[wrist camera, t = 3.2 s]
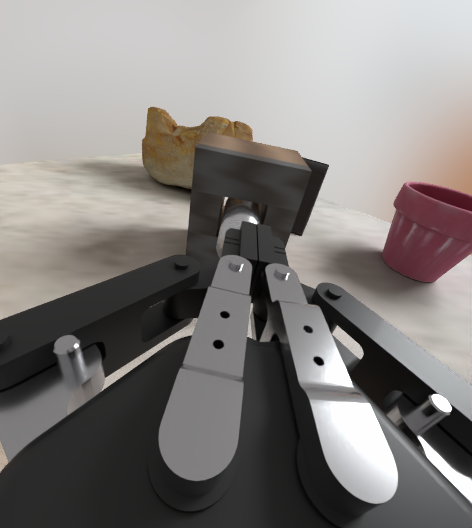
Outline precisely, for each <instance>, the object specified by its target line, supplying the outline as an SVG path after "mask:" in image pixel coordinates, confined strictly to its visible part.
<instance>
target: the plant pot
mask: <svg viewBox="0 0 472 528" xmlns="http://www.w3.org/2000/svg"><path fill="white" fill-rule="evenodd" d="M394 207H395V208H396V213H395V215H394V218H393V221H392V224H391V227H390V230H389V233H388V237H387V240H386V243H385V247H384V250H383V253H382V258H383V260H384V262H385V263H386V264H387V265H388V266H390V267H391V268H392V269H394V270H395V271H397V272H398V273H400V274H402V275H404V276H407V277H409V278H412V279H415V280H418V281H423V282H433V281H436V280H437V279H438V278H440V277H441V276H442V275H443V274H445V273H446V272H447V271H449V270H450V269H451V268H453V267H454V266H455V265H456V264H458V263H459V262H460V261H462V260H463V259H464V258H466V257H467V256H468V255H470V254H471V253H472V195H469V194H466V193H462V192H460V191H456V190H453V189H449V188H446V187H441V186H437V185H433V184H428V183H421V182H406V183H405V184H404V185H403V187H402V188H401V190H400V192H399V194H398V196H397V197H396V199H395V201H394Z"/></svg>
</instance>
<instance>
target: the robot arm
mask: <svg viewBox="0 0 472 528" xmlns="http://www.w3.org/2000/svg"><path fill="white" fill-rule="evenodd" d="M161 301H162V302H161ZM159 302H160V303H159ZM157 303H158V304H157ZM251 303H253V308H252V311H251V315H250V319H251V330H252V339H251V338H249V337H247V332H248V322H249V313H250V304H251ZM155 304H156V305H155ZM153 305H154V306H153ZM151 306H152V307H151ZM149 307H150V308H149ZM193 318H198V320H197V323H196V326H195V329H194V332H193V335H192V336H187V337H183V338H180V339H178V340H175V341H173V342H172V343H170V344H168V345H166V346H165V347H163V348H162V349H161V350H159V351H158V352H156V353H155V354H154V355H152V356H151V357H149V358H148V359H147V360H145V361H144V362H142V363H141V364H139V365H138V366H137V367H135V368H134V369H132V370H131V371H130V372H128V373H127V374H125V375H124V376H123V377H121V378H120V379H118V380H117V381H115V382H114V383H113V384H111V385H110V386H108V387H107V388H106V389H104V390H103V391H101V390H102V388H103V386H104V382H105V378H106V377H107V376H109V375H110V374H112V373H113V372H115V371H117V370H118V369H120V368H121V367H123V366H124V365H126V364H128V363H129V362H131V361H132V360H134V359H135V358H137V357H138V356H140V355H142V354H143V353H145V352H146V351H148V350H149V349H151V348H153V347H154V346H156V345H157V344H159V343H160V342H162V341H164V340H165V339H167V338H168V337H170V336H171V335H173V334H174V333H176V332H178V331H179V330H181V329H182V328H184V327H185V326H187V325H188V324H190V323H191V321H192V320H193ZM337 325H338V326H339V327H340V328H341V329H342V330H344V331H345V332H346V333H347V334H348V335H349V336H351V337H352V338H353V339H354V340H355V341H356V342H357V343H359V344H360V346H361V347H362V349H363V352H364V355H363V357H362V359H361V360H360V359H359V358H357V357H356V356H355V355H354V354H353V353H352V352H351V351H349V350H348V349H347V348H346V347H345V346H344V345H343V344H342V343H341V342H340V341H338V340H337V339H336V338H335V337H334V336H333V335H332V333H333V331H334V329H335V328H336V326H337ZM0 441H1V444H2V446H3V449H4V452H5V454H6V457H7V459H8V462H9V463H8V464H7V465H6V466H5V467H4V469H3V470H2V471H1V472H0V528H472V385H471V384H469V383H468V382H467V381H465V380H464V379H463V378H461V377H460V376H459V375H457V374H456V373H455V372H453V371H452V370H451V369H449V368H448V367H447V366H445V365H444V364H443V363H441V362H440V361H439V360H437V359H436V358H435V357H433V356H432V355H431V354H429V353H428V352H426V351H425V350H424V349H422V348H421V347H420V346H418V345H417V344H416V343H414V342H413V341H412V340H410V339H409V338H408V337H406V336H405V335H404V334H402V333H401V332H400V331H398V330H397V329H396V328H394V327H393V326H392V325H390V324H389V323H388V322H386V321H385V320H384V319H382V318H381V317H380V316H378V315H377V314H376V313H374V312H373V311H372V310H370V309H369V308H368V307H366V306H365V305H364V304H362V303H361V302H360V301H358V300H357V299H356V298H354V297H353V296H352V295H350V294H349V293H348V292H346V291H345V290H344V289H342V288H341V287H339V286H337V285H334V284H331V283H320V284H319V285H318V286H317V288H316V289H313V288H311V287H308V286H306V285H304V284H302V283H300V281H299V278H298V276H297V274H296V272H295V271H294V270H293V269H291V268H290V267H289V265H288V261H287V256H286V252H285V247H284V243H283V242H282V241H281V240H280V238H279V237H274V236H272V232H271V226H266V225H261V224H256V223H251V222H247V221H242V223H241V227H240V230H239V229H234V228H230V229H228V230H227V231H226V233H225V238H224V243H223V248H222V253H221V259H220V260H219V262H218V263H217V264H215V265H212V266H206V267H200V263H199V262H198V261H197V260H196V259H194V258H193V257H190V256H186V255H174V256H171V257H168V258H165V259H163V260H160V261H157V262H154V263H152V264H149V265H146V266H144V267H141V268H138V269H136V270H133V271H130V272H128V273H125V274H122V275H120V276H117V277H114V278H112V279H109V280H106V281H104V282H101V283H98V284H95V285H93V286H90V287H87V288H85V289H82V290H79V291H77V292H74V293H71V294H69V295H66V296H63V297H61V298H58V299H55V300H53V301H50V302H47V303H45V304H42V305H39V306H36V307H34V308H31V309H28V310H26V311H23V312H20V313H18V314H15V315H12V316H10V317H7V318H4V319H2V320H0Z"/></svg>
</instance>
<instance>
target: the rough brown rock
mask: <svg viewBox="0 0 472 528" xmlns="http://www.w3.org/2000/svg"><path fill="white" fill-rule="evenodd" d="M209 132H210V133H214V134H219V135H224V136H228V137H233V138H238V139H243V140H247V141H252V140H253V138H252V129H251V128H250V127H249V126H248V125H246V124H244V123H241V122H238V121H235V122H231V121H229V120H228V119H226V118H222V117H208V118H207V119H206V120H205V122H203V123H202V124H201V125H200V126H197V127H185V126H177V124H176V122H175V121H174V120H173V119H172V118H171V116H169V114H168V113H167V112H166V111H165V110H163V109H160V108H156V107H150V108H148V114H147V126H146V136H145V138H144V139H143V140H142V159H143V165H144V167H145V168H146V169H147V171H148V173H149V174H150V175H151V177H153V178H154V179H155V180H157V181H158V182H160V183H163V184H166V185H175V186H181V187H184V188H188V189H192V179H193V167H194V155H195V147H196V146H197V145H198V144H199V142H200V141H201V140H202V139H203V138H204V137H205V136H206V135H207V134H208V133H209Z"/></svg>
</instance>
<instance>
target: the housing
mask: <svg viewBox="0 0 472 528" xmlns="http://www.w3.org/2000/svg"><path fill="white" fill-rule="evenodd" d="M311 173H312V171H311V169H310V168H309V167H308V165H307V164H306V162H305V161H304V160H303V158H302V157H301V155H300V154H299V153H298V151H294V150H289V149H285V148H280V147H275V146H271V145H266V144H261V143H257V142H252V141H247V140H243V139H238V138H233V137H228V136H224V135H219V134H214V133H210V132H209V133H208V134H207V135H206V136H205V137H204V138H203V139H202V140H201V141H200V142H199V144H198V145H197V146H196V147H195V155H194V167H193V179H192V190H191V202H190V214H189V226H188V238H187V250H186V256H190V257H193V258H194V259H196V260H197V261H198V262H199V263H200V267H206V266H212V265H215V264H217V263H218V262H219V260H220V257H219V256H218V254H217V250H216V245H217V240H218V236H219V231H220V227H221V222H222V218H223V213H224V209H225V206H223V205H224V199H225V197H229V198H234V199H239V200H244V201H249V202H254V203H259V213H260V224H261V225H266V226H271V232H272V236H274V237H279V238H280V240H281V241H282V242H283V243H284V247H286V245H287V242H288V239H289V236H290V233H291V230H292V227H293V224H294V222H295V219H296V216H297V213H298V210H299V207H300V204H301V202H302V199H303V196H304V193H305V190H306V187H307V184H308V181H309V179H310V176H311Z"/></svg>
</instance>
